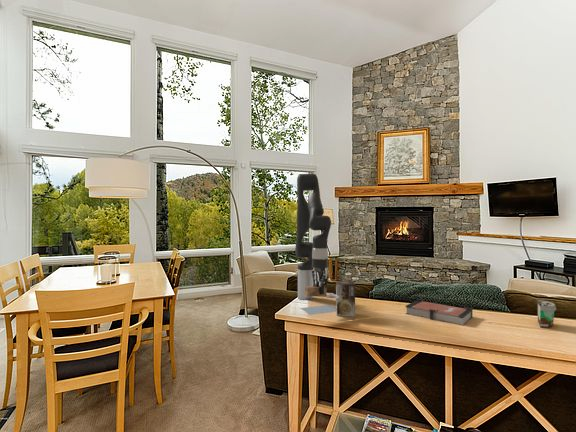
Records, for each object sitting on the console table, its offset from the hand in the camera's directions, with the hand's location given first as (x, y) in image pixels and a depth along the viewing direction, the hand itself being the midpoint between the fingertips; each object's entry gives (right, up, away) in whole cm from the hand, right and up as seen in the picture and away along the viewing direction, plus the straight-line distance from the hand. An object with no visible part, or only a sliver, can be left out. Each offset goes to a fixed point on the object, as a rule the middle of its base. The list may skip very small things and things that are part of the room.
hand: (319, 293), depth 159 cm
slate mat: (+2, -12, +13) cm, 18 cm away
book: (+59, -13, +5) cm, 60 cm away
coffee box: (+13, -12, +5) cm, 19 cm away
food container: (+101, -12, -10) cm, 102 cm away
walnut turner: (0, -1, 0) cm, 1 cm away
